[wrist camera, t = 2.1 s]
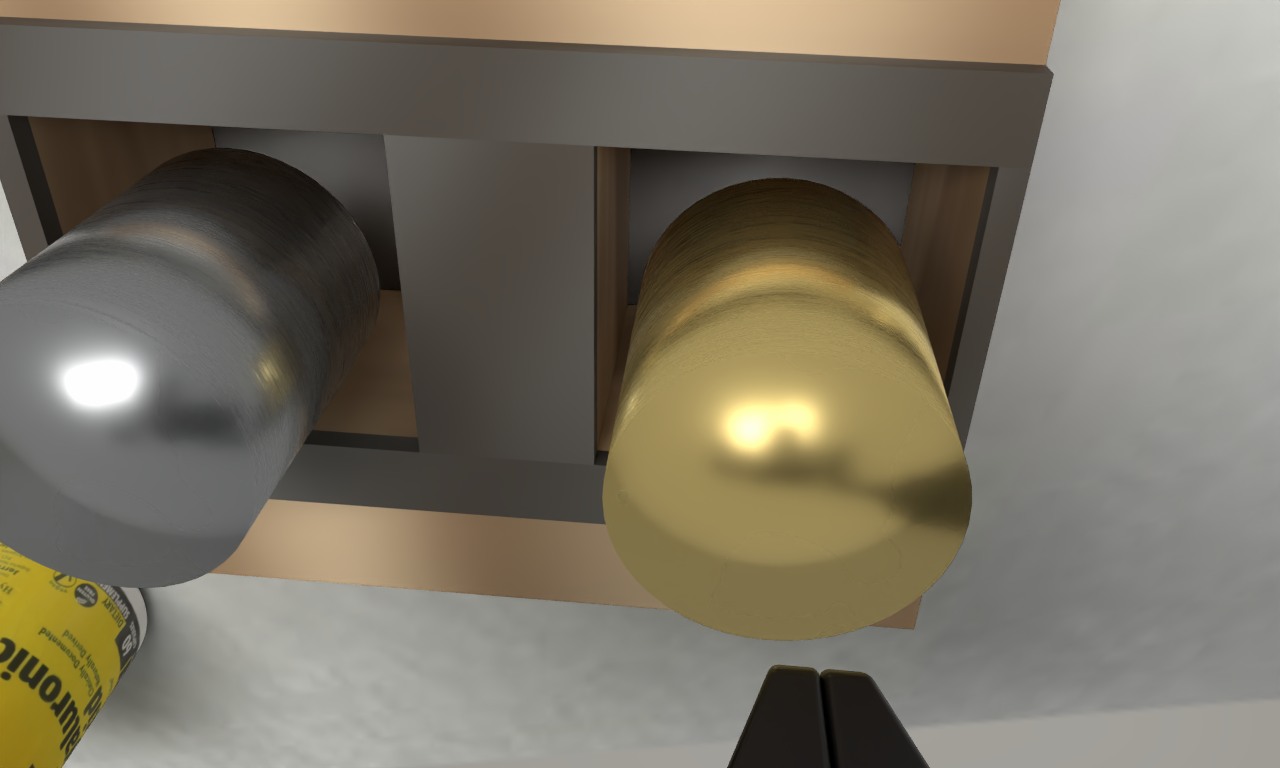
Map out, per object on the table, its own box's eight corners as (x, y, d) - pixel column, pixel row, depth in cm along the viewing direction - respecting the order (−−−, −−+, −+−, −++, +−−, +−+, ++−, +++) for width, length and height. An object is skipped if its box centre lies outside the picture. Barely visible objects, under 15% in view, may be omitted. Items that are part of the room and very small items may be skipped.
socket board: (998, -168, 16) (1101, -130, 11) (882, 459, 22) (917, 646, 18) (120, -197, 17) (-115, -171, 12) (253, 415, 23) (132, 582, 18)
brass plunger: (933, 186, 14) (1008, 367, 10) (888, 425, 16) (935, 653, 12) (643, 171, 14) (603, 341, 10) (637, 407, 16) (602, 626, 12)
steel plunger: (363, 154, 15) (216, 315, 11) (393, 391, 17) (280, 600, 13) (92, 140, 15) (-152, 292, 11) (156, 374, 17) (-29, 575, 13)
